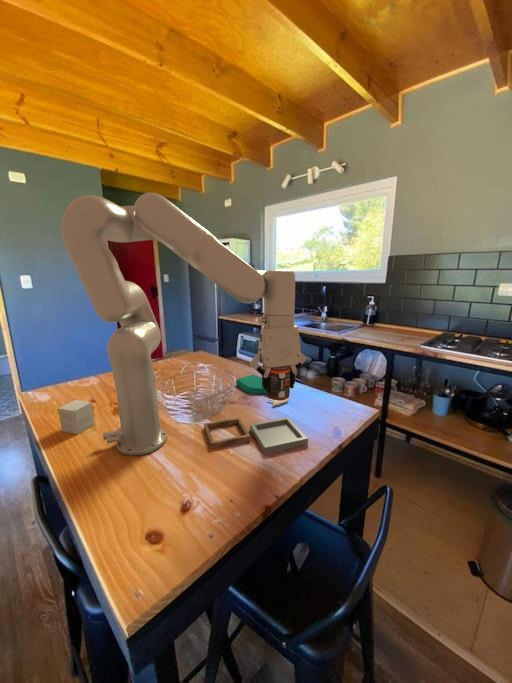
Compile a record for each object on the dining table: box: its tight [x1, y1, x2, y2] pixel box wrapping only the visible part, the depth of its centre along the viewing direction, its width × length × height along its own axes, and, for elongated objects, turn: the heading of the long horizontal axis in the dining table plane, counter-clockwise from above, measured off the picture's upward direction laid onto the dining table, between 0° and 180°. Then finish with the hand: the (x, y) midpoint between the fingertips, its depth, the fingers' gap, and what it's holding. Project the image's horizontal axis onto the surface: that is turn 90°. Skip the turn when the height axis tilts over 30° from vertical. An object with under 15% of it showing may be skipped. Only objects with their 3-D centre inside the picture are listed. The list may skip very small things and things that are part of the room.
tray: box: [249, 416, 309, 455], centre depth 79 cm, size 12×12×2 cm
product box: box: [57, 399, 95, 435], centre depth 84 cm, size 6×6×7 cm
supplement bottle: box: [266, 366, 291, 401], centre depth 75 cm, size 6×6×11 cm
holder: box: [203, 417, 251, 450], centre depth 81 cm, size 11×11×2 cm
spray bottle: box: [235, 374, 290, 407], centre depth 108 cm, size 3×11×24 cm
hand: (278, 387), depth 76 cm, fingers closed on supplement bottle, 6 cm apart
